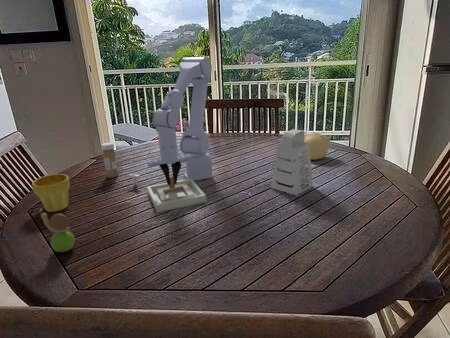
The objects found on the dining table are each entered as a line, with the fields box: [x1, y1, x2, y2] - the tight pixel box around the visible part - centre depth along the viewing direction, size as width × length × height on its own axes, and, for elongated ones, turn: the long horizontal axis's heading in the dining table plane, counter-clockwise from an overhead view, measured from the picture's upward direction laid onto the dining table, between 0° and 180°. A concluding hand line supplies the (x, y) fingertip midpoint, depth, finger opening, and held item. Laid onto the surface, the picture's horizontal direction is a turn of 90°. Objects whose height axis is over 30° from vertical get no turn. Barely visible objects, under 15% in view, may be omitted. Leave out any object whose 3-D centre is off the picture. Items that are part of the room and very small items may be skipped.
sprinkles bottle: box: [100, 141, 119, 179], centre depth 131 cm, size 5×5×14 cm
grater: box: [270, 128, 314, 195], centre depth 114 cm, size 10×10×20 cm
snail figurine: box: [38, 208, 75, 253], centre depth 83 cm, size 5×6×12 cm
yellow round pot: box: [302, 132, 331, 161], centre depth 144 cm, size 12×12×11 cm
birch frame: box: [157, 174, 194, 203], centre depth 112 cm, size 10×10×5 cm
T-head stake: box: [127, 173, 141, 188], centre depth 122 cm, size 4×2×4 cm, turn 67°
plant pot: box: [31, 173, 71, 213], centre depth 107 cm, size 10×10×10 cm
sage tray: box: [146, 178, 207, 213], centre depth 112 cm, size 16×16×2 cm
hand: (171, 183), depth 115 cm, fingers closed on birch frame
